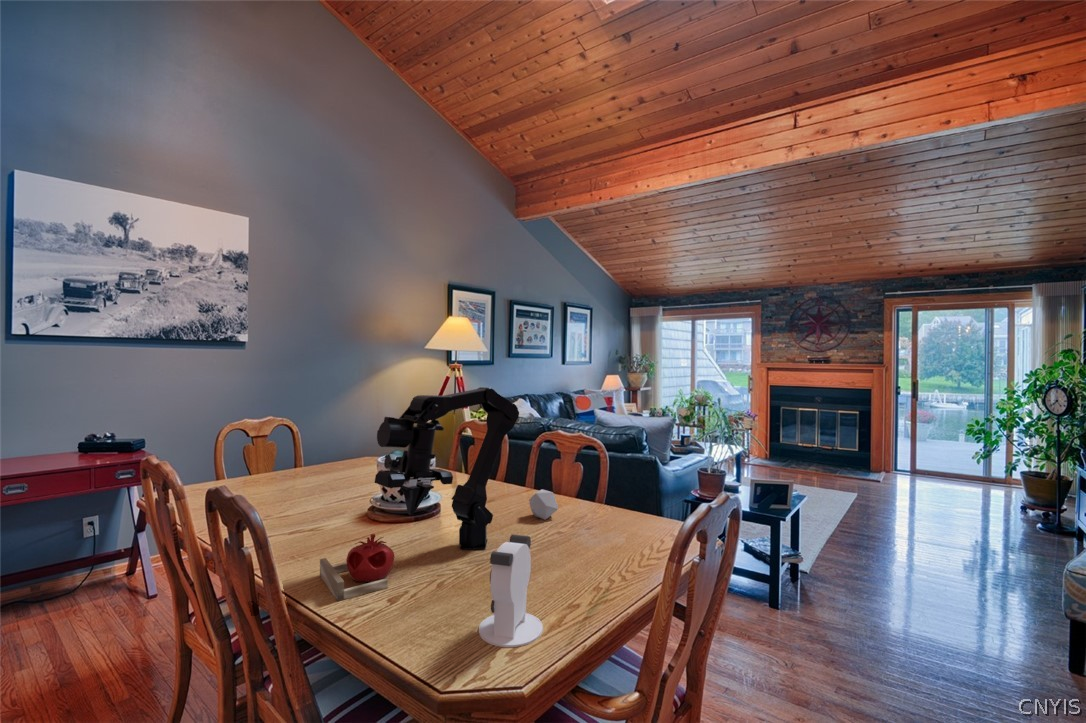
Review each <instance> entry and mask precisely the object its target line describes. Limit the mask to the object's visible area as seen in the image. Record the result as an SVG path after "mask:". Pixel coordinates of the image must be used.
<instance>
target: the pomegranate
mask: <svg viewBox="0 0 1086 723" xmlns="http://www.w3.org/2000/svg"><path fill="white" fill-rule="evenodd" d="M375 538H376V533H373V534H372V533H371V534H370V537H369V536H368V537H365V539H366V542H365V541H357V542H355V543H354V544H355V545H356V546H354V547H352V548H351V549H350V550H349V551H348V553H347V556H346V560H345V561H346V562H347V568H348V573H349V575H350V577H351V578H352V580H354V581H356V582H359V583H361V582H362V583H363V582H364V583H365V582H370V583H371V582H374V581H377V580H379V579H380V580H382V579H385V578H386V577H388V575H389V574H390V571H391V569H392V567H393V566H394V562H395V557H396V556H395V552H394V551H393V549H392V548H391V547H389V546H388V545H386V543H387V541H383V540H381V539H384V536H383V537H379V538H378V539H376V540H375ZM359 543H360V544H359ZM357 544H359V545H357Z"/></svg>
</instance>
